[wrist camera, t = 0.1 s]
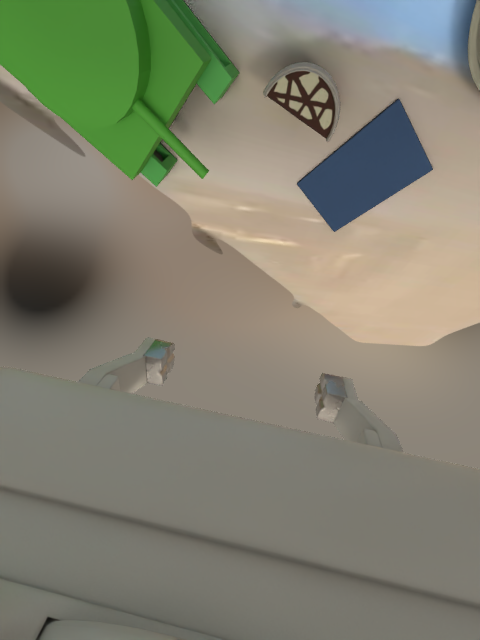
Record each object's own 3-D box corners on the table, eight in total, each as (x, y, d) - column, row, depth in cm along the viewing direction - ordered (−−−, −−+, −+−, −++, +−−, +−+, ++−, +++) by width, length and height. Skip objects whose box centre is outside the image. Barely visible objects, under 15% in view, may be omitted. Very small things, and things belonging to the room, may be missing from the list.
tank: (185, 194, 63) (158, 231, 52) (26, 43, 48) (-57, 53, 37) (262, 100, 47) (246, 126, 37) (63, -165, 32) (-60, -249, 22)
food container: (354, 86, 44) (360, 100, 38) (328, 126, 48) (330, 144, 42) (290, 35, 41) (285, 40, 35) (269, 82, 46) (261, 94, 39)
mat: (398, 98, 44) (399, 99, 44) (432, 168, 50) (433, 169, 50) (297, 183, 56) (296, 184, 56) (334, 230, 63) (334, 232, 62)
